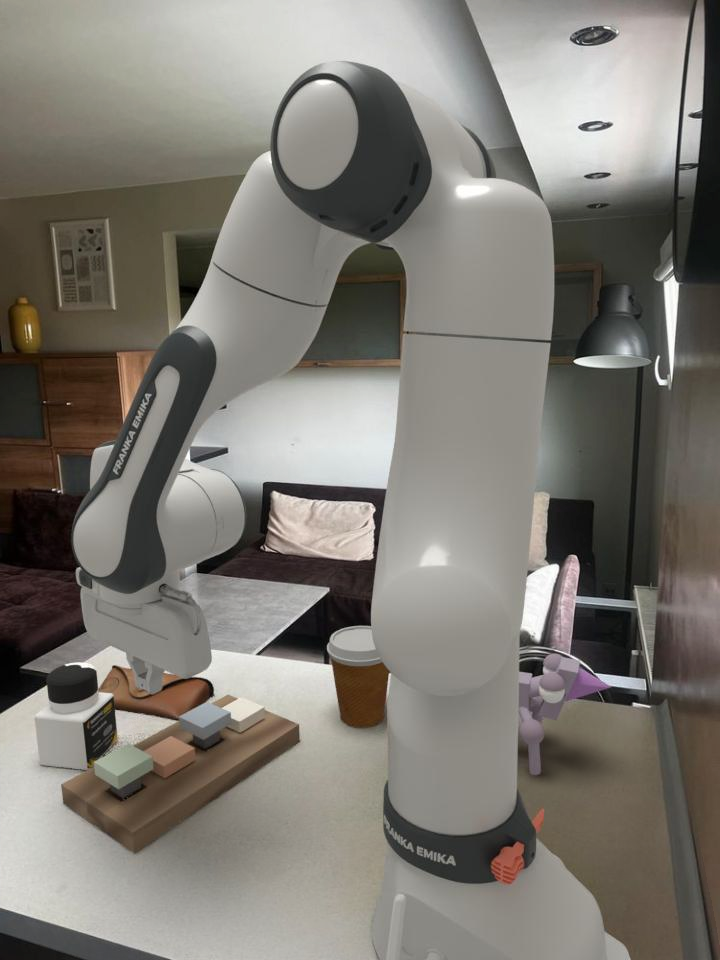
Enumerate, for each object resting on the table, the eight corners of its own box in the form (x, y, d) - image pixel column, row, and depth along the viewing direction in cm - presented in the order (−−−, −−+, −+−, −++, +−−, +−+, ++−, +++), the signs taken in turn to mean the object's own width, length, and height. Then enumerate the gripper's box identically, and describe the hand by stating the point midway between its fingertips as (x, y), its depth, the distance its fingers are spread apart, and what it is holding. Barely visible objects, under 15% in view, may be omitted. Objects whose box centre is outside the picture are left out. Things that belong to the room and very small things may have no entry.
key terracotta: (196, 775, 86) (194, 748, 85) (166, 795, 82) (163, 766, 82) (173, 763, 89) (170, 735, 88) (142, 781, 85) (139, 753, 84)
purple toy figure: (608, 744, 92) (614, 650, 88) (605, 797, 82) (611, 694, 79) (459, 718, 99) (459, 630, 95) (440, 764, 89) (439, 668, 86)
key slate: (232, 739, 90) (230, 712, 89) (204, 755, 87) (202, 728, 86) (208, 727, 93) (206, 701, 92) (180, 743, 89) (178, 716, 89)
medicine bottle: (88, 771, 88) (79, 684, 86) (38, 766, 90) (28, 679, 87) (119, 740, 95) (111, 658, 93) (72, 735, 96) (63, 655, 94)
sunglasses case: (79, 707, 104) (91, 661, 106) (106, 709, 110) (116, 665, 112) (187, 723, 99) (197, 674, 101) (209, 724, 105) (217, 678, 107)
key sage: (154, 786, 81) (152, 756, 80) (120, 807, 77) (117, 776, 77) (131, 772, 84) (128, 743, 83) (96, 791, 80) (93, 762, 79)
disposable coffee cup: (315, 715, 100) (312, 637, 98) (364, 693, 106) (362, 619, 104) (360, 742, 93) (358, 659, 91) (409, 716, 100) (408, 637, 97)
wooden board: (299, 741, 94) (299, 724, 93) (134, 853, 74) (132, 832, 73) (229, 710, 102) (228, 694, 102) (63, 803, 82) (61, 784, 82)
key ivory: (265, 732, 95) (264, 706, 95) (241, 748, 92) (239, 721, 91) (242, 722, 98) (241, 697, 97) (217, 736, 94) (215, 711, 94)
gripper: (221, 587, 75) (228, 705, 78) (114, 554, 88) (124, 657, 90) (172, 605, 70) (182, 729, 73) (67, 567, 83) (78, 675, 86)
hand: (149, 689), depth 82 cm, fingers closed
